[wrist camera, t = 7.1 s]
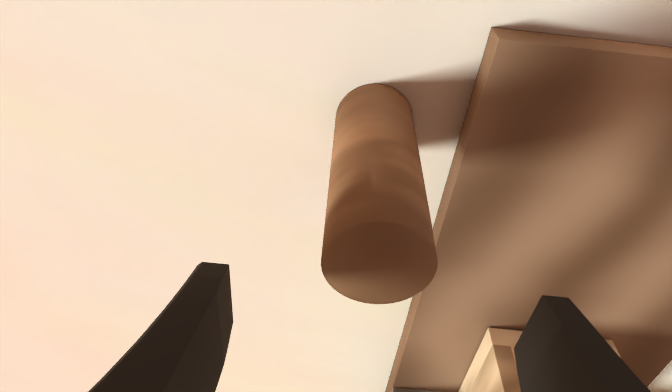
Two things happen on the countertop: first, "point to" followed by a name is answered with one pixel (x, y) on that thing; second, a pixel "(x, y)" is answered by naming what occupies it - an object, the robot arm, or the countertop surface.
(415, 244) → the dowel
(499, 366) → the hollow square maple frame
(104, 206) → the countertop surface
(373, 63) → the countertop surface
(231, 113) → the countertop surface
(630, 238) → the backstop board
